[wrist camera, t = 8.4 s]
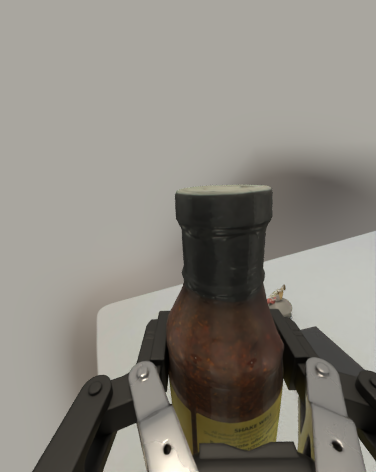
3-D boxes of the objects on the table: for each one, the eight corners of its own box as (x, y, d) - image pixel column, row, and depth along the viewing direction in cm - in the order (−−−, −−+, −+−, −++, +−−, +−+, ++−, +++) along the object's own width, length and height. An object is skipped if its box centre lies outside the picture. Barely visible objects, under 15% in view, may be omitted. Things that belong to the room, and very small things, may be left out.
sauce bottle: (278, 456, 15) (335, 183, 8) (246, 591, 10) (320, 202, 4) (205, 398, 19) (207, 181, 12) (157, 476, 14) (121, 189, 8)
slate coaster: (313, 414, 22) (314, 411, 21) (261, 341, 31) (262, 338, 31) (383, 390, 24) (384, 387, 23) (315, 328, 33) (315, 326, 33)
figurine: (295, 323, 34) (300, 294, 32) (269, 323, 34) (273, 294, 32) (282, 303, 39) (286, 277, 37) (260, 303, 39) (262, 277, 37)
